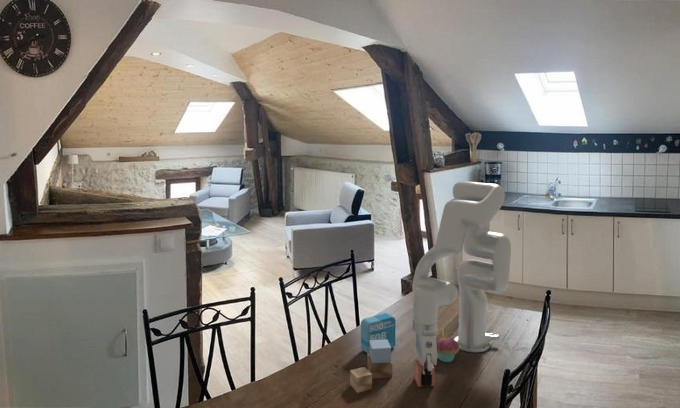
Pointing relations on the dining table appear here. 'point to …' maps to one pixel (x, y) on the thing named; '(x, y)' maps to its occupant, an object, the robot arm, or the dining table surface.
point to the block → (360, 379)
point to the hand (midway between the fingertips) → (424, 379)
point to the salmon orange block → (419, 370)
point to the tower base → (379, 369)
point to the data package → (377, 330)
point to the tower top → (380, 351)
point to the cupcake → (446, 348)
